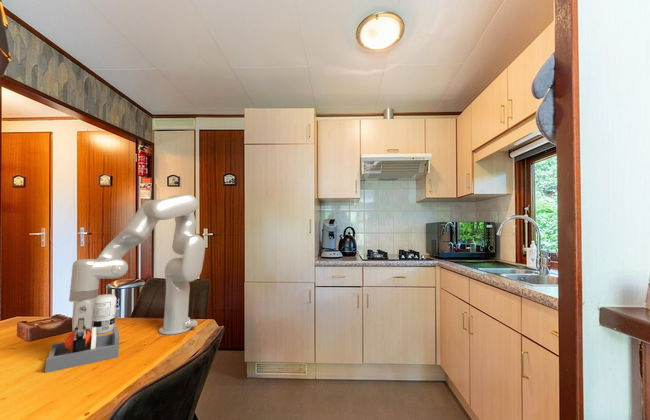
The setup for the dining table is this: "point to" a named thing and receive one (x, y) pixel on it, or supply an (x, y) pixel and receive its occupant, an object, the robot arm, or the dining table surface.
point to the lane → (83, 353)
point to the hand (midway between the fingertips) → (78, 347)
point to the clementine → (71, 337)
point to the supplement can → (104, 313)
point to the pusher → (93, 338)
